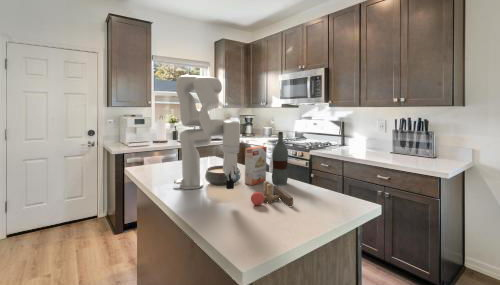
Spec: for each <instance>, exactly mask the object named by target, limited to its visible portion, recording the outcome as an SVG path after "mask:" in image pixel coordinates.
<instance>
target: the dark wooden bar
mask: <svg viewBox="0 0 500 285" xmlns="http://www.w3.org/2000/svg"><path fill="white" fill-rule="evenodd" d="M273 194H274V196H275V195H279V198H280V199H281V200H282V202H283V201H284V202H285V203H286V204H287V205H288V206H292V205H293V206H294V197H293V196H292V195H290V194H289V193H288V192H286V191H285V190H284V189H282V187H279V185H273ZM280 199H279V200H280ZM281 200H280V201H281ZM284 202H283V203H284ZM285 203H284V204H285ZM286 204H285V205H286ZM287 205H286V206H287ZM288 206H287V207H288Z"/></svg>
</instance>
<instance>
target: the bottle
mask: <svg viewBox="0 0 500 285" xmlns="http://www.w3.org/2000/svg"><path fill="white" fill-rule="evenodd" d="M277 133H278V134H277V136H278V137H277V138H278V139H277V142H276V144H275V145H274V147H273V149H272V152H271V153H272V154H271V157H272V158H271V159H272V160H271V161H272V171H271V182H272V185H274V186H285V185H287V183H288V178H289V177H288V176H289V175H288V160H289V149H288V148H287V146H286V144H285V143H284V132H283V131H278V132H277Z"/></svg>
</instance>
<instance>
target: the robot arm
mask: <svg viewBox="0 0 500 285" xmlns="http://www.w3.org/2000/svg"><path fill="white" fill-rule="evenodd" d="M222 89H223V86H222V82H221V80H220V79H218V78H217V77H211V76H202V75H201V76H200V75H190V74H189V75H188V74H184V75H183V74H182V75H180V76H179V77H177V79H176V81H175V91H176V95H177V98H178V102H179V112H180V123H181V124H182V125H183V127H189V128H191V127H192V128H191V129H185V130H183V131H181V132H180V134H179V141H180V143H179V144H180V148H181V168H182V169H181V171H182V174H181V175H182V177H181V178H179V179H174V180H173V182H174V184H176V185H179V188H180V189H184V190H197V189H201V188H202V187H203V186H204V183H203V182H201V158H200V157H201V156H200V153H199V150H198V149H197V147H204V146H209V145H210V144H211V142H212V137H218V136H219V137H220V136H221V137H222V153H223V162H222V172H223V173H224V175H225V176H226V180H225V182H226V183H225V184H226V185H225V186H226V189H227V190H233V189H235V188H234V187H235V183H234V182H235V176H237V174H238V154H239V153H240V141H241V140H240V138H241V136H240V135H241V124H240V122H239V121H236V120H235V121H234V120H230V119H227V118H226V119H225V118H224V119H223V118H222V119H216V118H215V119H211V117H210V114H209V112H210V111H211V110H214V109H215V108H216V107H217V106H218V105H219V103H220V102H219V101H220V100H219V98H218V95H219V94H220V93H221V92H222ZM191 93H196V96H197V98H198V100H199V103H200V104H201V107H200V109H199V108H198V109H197V103H196V99H195V97H194V95H192V94H191ZM194 127H195V128H194ZM197 127H199V128H197Z"/></svg>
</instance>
